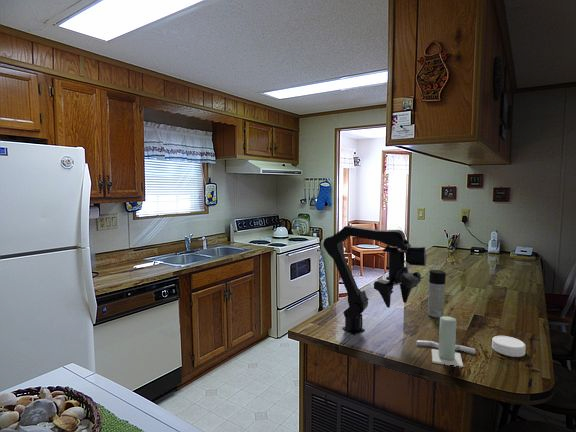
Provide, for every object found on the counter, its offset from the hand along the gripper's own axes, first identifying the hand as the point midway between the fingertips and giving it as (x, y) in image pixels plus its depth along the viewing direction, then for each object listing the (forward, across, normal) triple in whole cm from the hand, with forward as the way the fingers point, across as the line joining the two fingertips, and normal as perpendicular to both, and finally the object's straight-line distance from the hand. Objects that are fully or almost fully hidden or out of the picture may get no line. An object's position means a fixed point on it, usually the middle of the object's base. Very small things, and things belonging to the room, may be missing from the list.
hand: (396, 305), depth 131 cm
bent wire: (+14, +8, -15) cm, 22 cm away
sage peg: (+13, +2, -19) cm, 23 cm away
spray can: (+14, +34, +7) cm, 37 cm away
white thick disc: (+15, +26, -27) cm, 40 cm away
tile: (+14, +2, -19) cm, 24 cm away
